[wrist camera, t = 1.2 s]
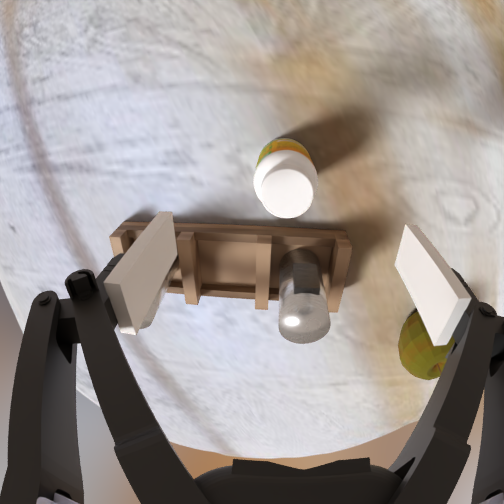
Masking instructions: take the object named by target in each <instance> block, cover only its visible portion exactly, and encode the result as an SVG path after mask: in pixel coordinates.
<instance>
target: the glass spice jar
mask: <svg viewBox="0 0 504 504" xmlns="http://www.w3.org/2000/svg"><path fill="white" fill-rule="evenodd" d="M178 266H179V256H178V254H177V256H176V258H175V260H174V262H173V264H172V266H171V268H170V269H169V271H168V273H167V275H166V277H165V279H164V281H163V283H162V285H161V287H160V289H159V290H158V292H157V294H156V296H155V298H154V300H153V302H152V304H151V306H150V308H149V310H148V312H147V314H146V316H145V318H144V320H143V322H142V324H141V327H140V329H143V328H147V327H148V326H150V325H151V323H152V321H153V319H154V317H155V314H156V312H157V310H158V308H159V306H160V304H161V302H162V300H163V297H164V295H165V293H166V291H167V289H168V287H169V285H170V283H171V281H172V279H173V277H174V275H175V273H176V271H177V269H178Z"/></svg>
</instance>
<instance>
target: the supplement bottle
mask: <svg viewBox="0 0 504 504" xmlns="http://www.w3.org/2000/svg"><path fill="white" fill-rule="evenodd" d="M317 188H318V176H317V172H316V169H315V167H314V164H313V162H312V160H311V158H310V156H309V153H308V152H307V150H306V149H305V147H304V146H303V145H302V144H300V143H299V142H297V141H295V140H293V139H288V138H280V139H276V140H273V141H271V142H270V143H268V144H267V145H266V146H265V147H264V148H263V149H262V151H261V153H260V156H259V159H258V162H257V166H256V170H255V173H254V189H255V192H256V194H257V196H258V198H259V199H260V201H261V202H262V203H263V205H264V207H265V208H266V209H267V210H268V211H269V212H270V213H271V214H273V215H275V216H277V217H281V218H294V217H297V216H299V215H301V214H303V213H304V212H306V210H307V209H308V208H309V207H310V205H311V203H312V201H313V198H314V196H315V194H316V192H317Z"/></svg>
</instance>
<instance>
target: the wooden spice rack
mask: <svg viewBox="0 0 504 504" xmlns="http://www.w3.org/2000/svg"><path fill="white" fill-rule="evenodd" d="M149 224H150V222H123V223H122V224H121V225H120V226H119V227H118V228H117V229H116V230H115V231H114V232H113V233H112V234H111V235H110V236H109V238H110V242H111V246H112V250H113V254H114V257H115V256H117V255H118V254H120V253H126V252H127V251H128V249H129V248H130V247H131V246H132V244H133V243H134V242H135V241H136V239H137V238H138V237H139V236H140V234H141V233H142V232H143V231H144V230H145V228H146V227H147V226H148V225H149ZM174 231H175V239H176V246H177V254H178V256H179V266H178V269H177V271H176V273H175V275H174V277H173V279H172V281H171V283H170V285H169V287H168V289H167V291H166V293H177V294H184V295H185V301H186V304H194V305H198V303H199V300H200V297H201V296H213V297H227V298H242V299H255V309H262V310H268V300H277V301H279V275H280V261H281V259H282V257H283V256H284V255H285V254H286V253H287V252H289V251H291V250H293V249H299V248H302V249H307V250H310V251H312V252H313V253H315V254H316V255H317V257H318V259H319V262H320V267H321V272H322V277H323V283H324V288H325V294H326V299H327V305H328V311H329V312H338V309H339V305H340V301H341V297H342V293H343V289H344V285H345V280H346V276H347V271H348V267H349V262H350V258H351V253H352V246H351V243H350V241H349V239H348V236H347V234H346V231H343V230H327V229H310V228H293V227H273V226H252V225H229V224H202V223H174Z"/></svg>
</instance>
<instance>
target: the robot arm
mask: <svg viewBox="0 0 504 504" xmlns="http://www.w3.org/2000/svg"><path fill="white" fill-rule="evenodd" d="M176 256H177V246H176V239H175V231H174V223H173V215H172V212H159V213H158V214H157V215H156V216H155V218H154V219H153V220H152V221H151V222H150V224H149V225H148V226H147V227H146V228H145V230H144V231H143V232H142V233H141V234H140V236H139V237H138V238H137V239H136V241H135V242H134V243H133V244H132V246H131V247H130V248H129V249H128V251H127V252H126V253H120V254H118V255H117V256H115V257H114V258H112V259H111V261H110V262H109V263H108V264H107V266H106V267H105V268H104V269H103V271H102V272H101V273H100V274H99V276H98V277H97V278H96V279H95V276H94V273H93V272H92V271H91V270H88V269H82V270H78V271H76V272H73V273H72V274H70V275H69V276H68V277H67V278H66V280H65V286H66V288H67V291H68V293H69V296H70V298H69V299H60V300H59V298H58V296H57V294H56V293H55V292H54V291H45V292H42V293H41V294H39V295H38V296H37V297H36V298H35V299H34V300H33V302H32V305H31V309H30V312H29V316H28V319H27V323H26V327H25V331H24V335H23V339H22V344H21V348H20V352H19V357H18V362H17V367H16V373H15V379H14V386H13V392H12V401H11V409H10V419H9V435H8V467H7V471H6V474H5V478H4V482H3V486H2V490H1V494H0V504H84V490H83V481H82V474H81V466H80V458H79V448H78V437H77V419H76V356H77V343H81V346H82V350H83V353H84V357H85V361H86V364H87V367H88V371H89V374H90V377H91V380H92V384H93V387H94V390H95V393H96V395H97V398H98V401H99V404H100V407H101V409H102V412H103V414H104V417H105V420H106V422H107V425H108V427H109V430H110V432H111V435H112V437H113V439H114V442H115V447H114V450H115V453H116V456H117V458H118V460H119V463H120V465H121V467H122V469H123V471H124V473H125V475H126V477H127V479H128V481H129V483H130V485H131V486H132V488H133V490H134V492H135V494H136V495H137V497H138V499H139V501H140V503H141V504H447V502H448V500H449V498H450V496H451V494H452V492H453V490H454V488H455V486H456V484H457V482H458V480H459V478H460V475H461V473H462V471H463V469H464V466H465V464H466V462H467V459H468V457H469V454H470V450H471V446H470V445H468V444H467V440H468V437H469V434H470V432H471V429H472V426H473V423H474V420H475V417H476V414H477V411H478V408H479V404H480V400H481V397H482V394H483V390H485V391H484V414H483V415H484V416H483V428H482V439H481V446H480V454H479V460H478V466H477V472H476V477H475V482H474V488H473V494H472V502H471V504H504V317H501V316H497V313H496V311H495V309H494V308H493V307H492V306H490V305H489V304H487V303H484V302H479V301H478V300H477V298H476V297H475V295H474V294H473V292H472V291H471V289H470V288H469V287H468V285H467V284H466V282H464V279H463V278H462V277H461V275H460V274H459V273H458V272H456V271H455V270H454V269H453V268H450V267H449V265H448V264H447V263H446V261H445V260H444V259H443V257H442V256H441V255H440V253H439V252H438V251H437V249H436V248H435V247H434V246H433V244H432V243H431V242H430V241H429V239H428V238H427V237H426V236H425V234H424V233H423V232H422V231H421V230H420V228H419V227H418V226H417V225H411V224H405V228H404V232H403V236H402V240H401V244H400V247H399V251H398V255H397V258H396V262H395V267H396V268H397V270H398V272H399V274H400V276H401V278H402V280H403V282H404V284H405V285H406V287H407V289H408V291H409V293H410V295H411V297H412V299H413V301H414V303H415V306H416V308H417V310H418V312H419V314H420V316H421V318H422V320H423V322H424V325H425V327H426V329H427V331H428V334H429V336H430V338H431V340H432V343H433V345H434V346H439V345H447V343H448V342H449V340H450V338H451V336H453V338H454V340H455V342H454V344H453V346H452V347H451V349H450V350H449V352H448V354H447V355H446V357H445V358H446V359H447V361H446V363H445V366H444V368H443V371H442V373H441V375H440V378H439V380H438V382H437V385H436V387H435V389H434V391H433V394H432V396H431V398H430V400H429V402H428V404H427V406H426V408H425V410H424V412H423V414H422V416H421V418H420V420H419V422H418V424H417V425H416V427H415V429H414V431H413V433H412V435H411V437H410V438H409V440H408V441H407V443H406V445H405V447H404V448H403V450H402V452H401V453H400V455H399V456H398V458H397V459H396V461H395V462H394V463H393V464H392V465H391V466H390V467H389V469H388V470H387V469H385V468H382V467H379V466H375V465H370V459H369V457H368V458H359V459H349V460H338V461H335V462H331V463H328V464H325V465H321V466H318V467H314V468H310V469H305V470H302V469H296V468H292V467H288V466H284V465H280V464H276V463H272V462H268V461H252V460H238V459H233V465H232V466H225V467H221V468H217V469H214V470H211V471H208V472H206V473H204V474H202V475H200V476H199V477H197V478H195V479H193V478H192V476H191V475H190V473H189V472H188V470H187V469H186V467H185V466H184V464H183V463H182V461H181V460H180V458H179V457H178V455H177V453H176V452H175V450H174V449H173V447H172V445H171V444H170V442H169V440H168V439H167V437H166V435H165V434H164V432H163V430H162V428H161V427H160V425H159V423H158V421H157V420H156V418H155V416H154V414H153V412H152V410H151V409H150V407H149V405H148V403H147V401H146V399H145V397H144V395H143V393H142V391H141V389H140V387H139V385H138V383H137V381H136V379H135V377H134V375H133V372H132V370H131V368H130V366H129V364H128V362H127V359H126V357H125V355H124V352H123V350H122V348H121V345H120V343H119V341H118V338H117V336H116V333H115V331H114V329H115V327H116V325H117V323H118V325H119V328H120V330H121V333H127V334H133V335H137V333H138V331H139V329H140V327H141V324H142V322H143V320H144V318H145V316H146V314H147V312H148V310H149V308H150V306H151V304H152V302H153V300H154V298H155V296H156V294H157V292H158V290H159V289H160V287H161V285H162V283H163V281H164V279H165V277H166V275H167V273H168V271H169V269H170V268H171V266H172V264H173V262H174V260H175V258H176Z"/></svg>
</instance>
